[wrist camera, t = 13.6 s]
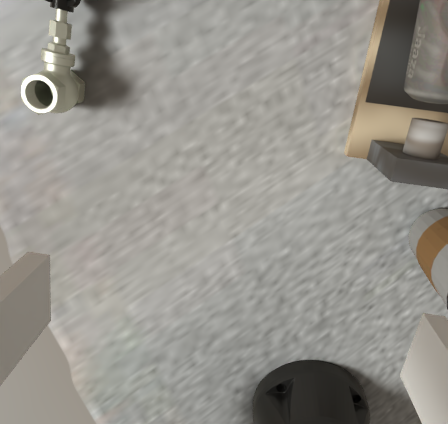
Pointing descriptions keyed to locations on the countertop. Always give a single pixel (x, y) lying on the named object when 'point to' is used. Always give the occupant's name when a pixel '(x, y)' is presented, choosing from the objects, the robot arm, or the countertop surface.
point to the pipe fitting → (429, 54)
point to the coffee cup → (432, 248)
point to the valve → (55, 69)
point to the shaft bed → (397, 107)
